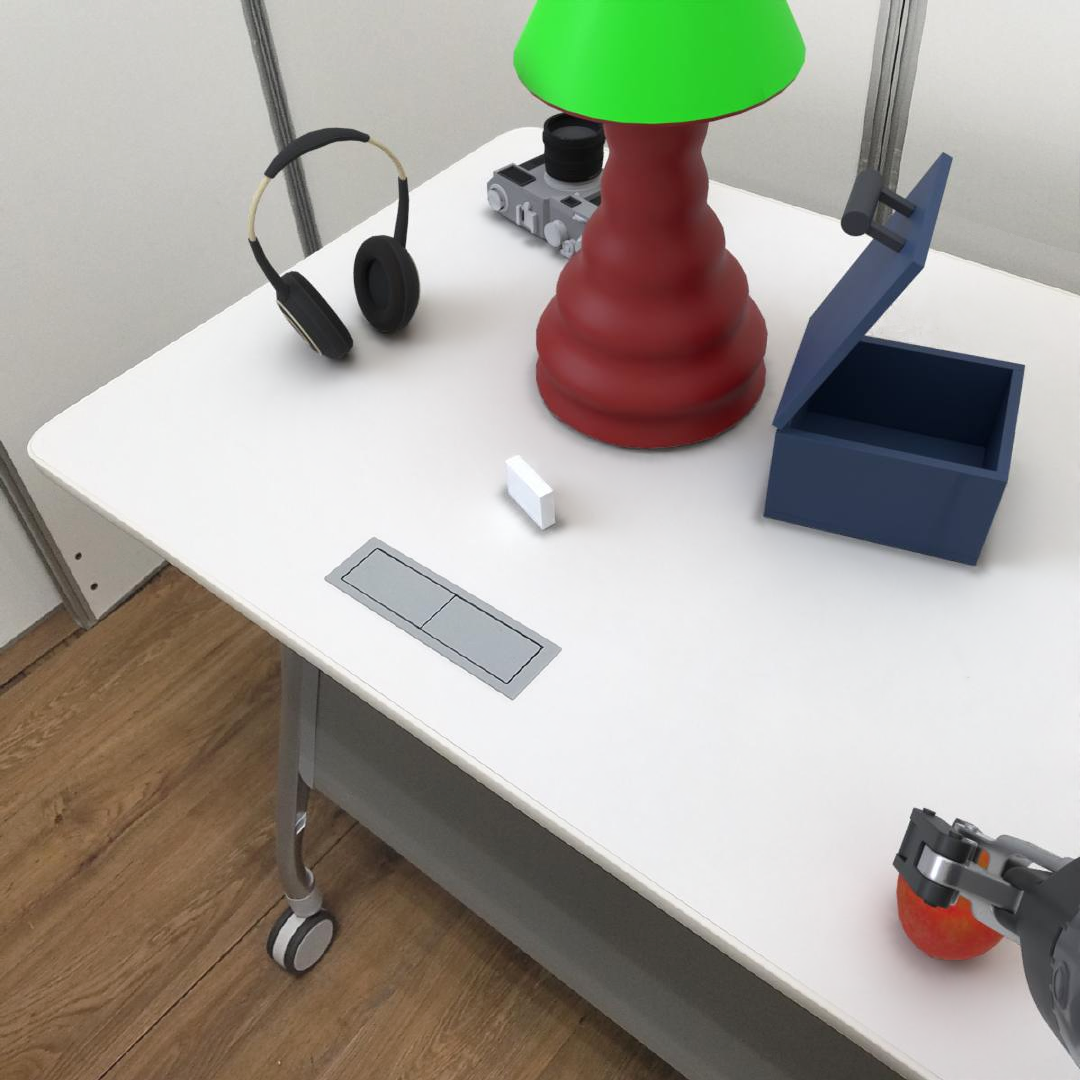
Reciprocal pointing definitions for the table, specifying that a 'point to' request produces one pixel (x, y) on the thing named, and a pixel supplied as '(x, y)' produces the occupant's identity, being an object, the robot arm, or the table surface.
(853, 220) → the lid
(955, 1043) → the table surface
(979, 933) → the apple
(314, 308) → the headphones
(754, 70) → the table lamp
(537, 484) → the eraser
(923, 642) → the table surface
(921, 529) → the box
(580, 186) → the camera
